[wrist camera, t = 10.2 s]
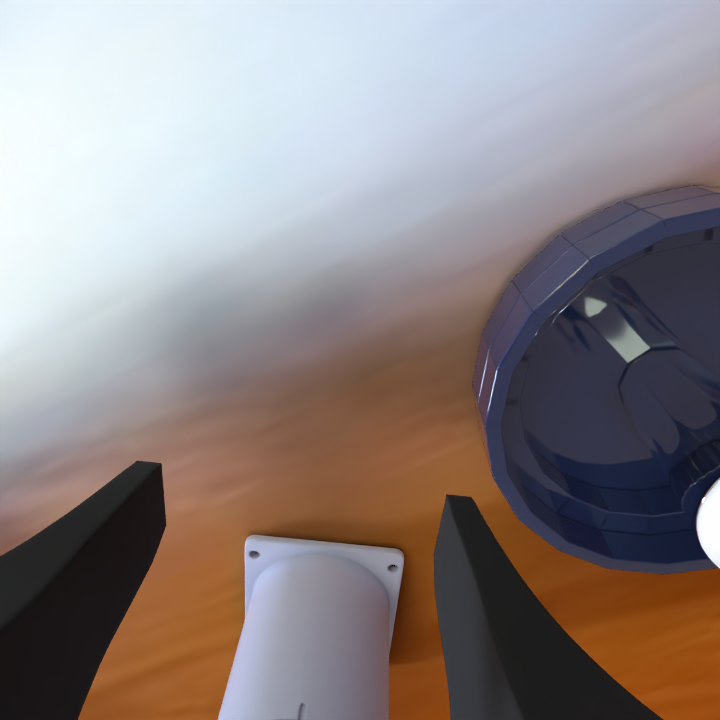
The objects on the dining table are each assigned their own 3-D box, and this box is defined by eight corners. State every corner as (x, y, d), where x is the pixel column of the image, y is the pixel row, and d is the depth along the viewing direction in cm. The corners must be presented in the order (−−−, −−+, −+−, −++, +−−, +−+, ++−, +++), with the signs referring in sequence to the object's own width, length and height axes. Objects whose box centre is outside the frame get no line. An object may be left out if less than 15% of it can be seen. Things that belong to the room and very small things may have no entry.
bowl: (758, 522, 26) (816, 590, 23) (447, 492, 27) (456, 554, 23) (921, 205, 20) (1038, 229, 16) (510, 166, 20) (536, 182, 16)
